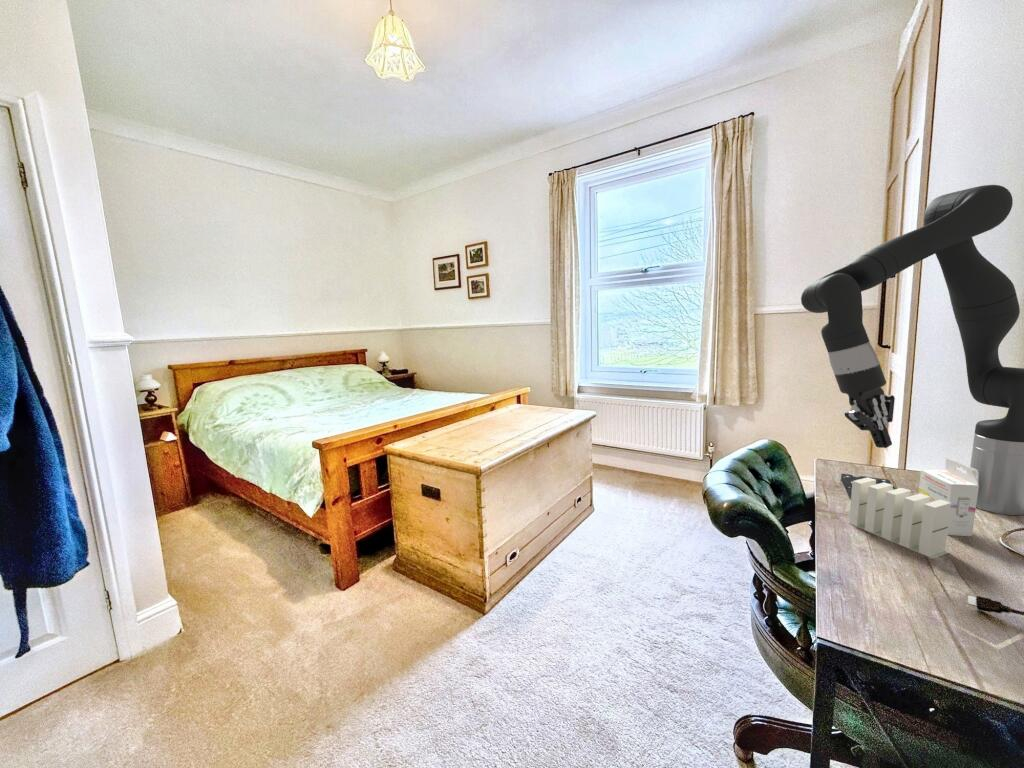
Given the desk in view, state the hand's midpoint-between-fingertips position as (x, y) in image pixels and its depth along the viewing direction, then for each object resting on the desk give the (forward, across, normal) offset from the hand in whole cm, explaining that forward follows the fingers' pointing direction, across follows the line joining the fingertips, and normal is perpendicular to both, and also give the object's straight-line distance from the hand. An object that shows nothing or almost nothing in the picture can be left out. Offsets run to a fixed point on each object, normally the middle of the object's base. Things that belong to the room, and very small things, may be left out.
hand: (884, 446), depth 83 cm
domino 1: (+17, -2, +9) cm, 20 cm away
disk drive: (+20, +17, +18) cm, 32 cm away
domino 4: (+20, -2, 0) cm, 20 cm away
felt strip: (+20, -2, +3) cm, 20 cm away
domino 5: (+21, -2, -3) cm, 21 cm away
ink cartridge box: (+23, +11, +2) cm, 25 cm away
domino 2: (+18, -2, +6) cm, 19 cm away
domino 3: (+19, -2, +3) cm, 19 cm away
